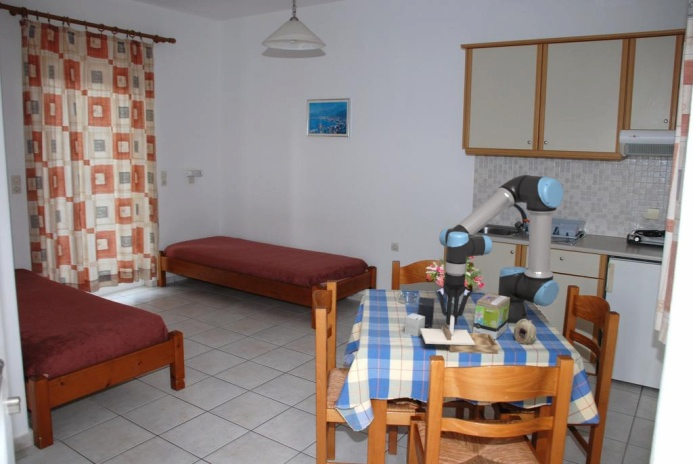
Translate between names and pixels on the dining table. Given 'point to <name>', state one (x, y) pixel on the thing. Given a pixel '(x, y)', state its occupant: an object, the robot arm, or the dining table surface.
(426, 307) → the small box
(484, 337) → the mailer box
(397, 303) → the dining table surface
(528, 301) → the robot arm
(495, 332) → the tea box
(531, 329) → the twine ball
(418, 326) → the skincare box
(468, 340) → the lid
